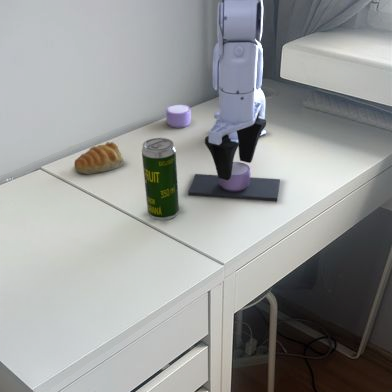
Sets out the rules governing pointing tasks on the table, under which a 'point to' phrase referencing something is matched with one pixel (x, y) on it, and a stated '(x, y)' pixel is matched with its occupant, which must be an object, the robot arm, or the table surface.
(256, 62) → the robot arm
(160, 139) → the green metal cylinder
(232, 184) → the top dish
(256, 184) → the felt mat
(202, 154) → the table surface
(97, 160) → the pastry
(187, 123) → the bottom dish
